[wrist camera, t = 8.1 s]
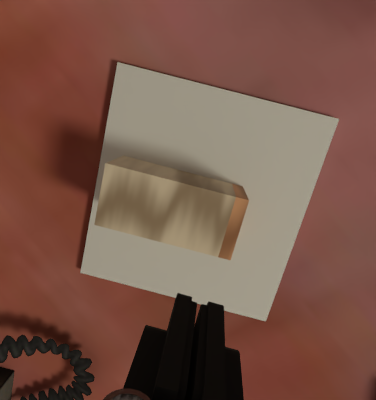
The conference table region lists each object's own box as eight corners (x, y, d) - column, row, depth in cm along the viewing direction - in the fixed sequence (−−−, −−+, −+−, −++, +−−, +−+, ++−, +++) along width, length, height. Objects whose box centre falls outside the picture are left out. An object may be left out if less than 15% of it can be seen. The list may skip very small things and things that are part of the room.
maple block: (242, 186, 28) (123, 155, 29) (249, 200, 24) (105, 163, 24) (227, 237, 30) (113, 207, 30) (230, 260, 25) (94, 224, 25)
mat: (119, 63, 27) (117, 62, 27) (336, 118, 27) (339, 119, 26) (82, 269, 32) (80, 272, 32) (264, 317, 32) (265, 321, 32)
